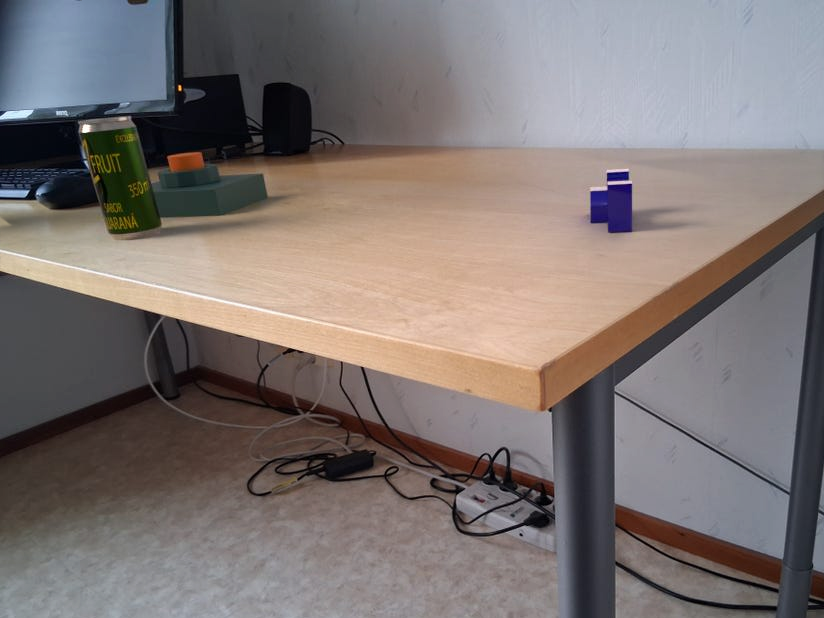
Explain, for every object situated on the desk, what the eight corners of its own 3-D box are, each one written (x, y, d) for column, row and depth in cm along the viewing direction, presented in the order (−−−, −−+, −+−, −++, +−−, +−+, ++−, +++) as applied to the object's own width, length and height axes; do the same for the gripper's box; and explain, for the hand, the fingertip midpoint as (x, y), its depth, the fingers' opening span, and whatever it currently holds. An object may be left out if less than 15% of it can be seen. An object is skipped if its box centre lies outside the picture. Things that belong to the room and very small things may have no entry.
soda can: (127, 231, 78) (95, 118, 73) (173, 228, 77) (143, 114, 73) (99, 242, 73) (63, 123, 68) (147, 239, 72) (114, 118, 68)
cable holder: (590, 213, 67) (590, 171, 65) (628, 211, 66) (628, 168, 64) (590, 233, 59) (589, 185, 58) (631, 231, 59) (632, 183, 57)
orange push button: (164, 174, 85) (160, 157, 85) (184, 169, 89) (180, 153, 88) (192, 173, 84) (188, 156, 84) (211, 168, 88) (207, 151, 87)
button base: (121, 219, 85) (109, 178, 83) (177, 201, 95) (168, 164, 93) (220, 216, 82) (210, 172, 80) (268, 198, 92) (260, 159, 90)
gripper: (83, -162, 73) (127, 9, 80) (-35, -205, 61) (28, 2, 67) (144, -174, 72) (183, 2, 78) (35, -221, 59) (93, -7, 65)
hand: (111, 1), depth 73 cm, fingers open, 8 cm apart
